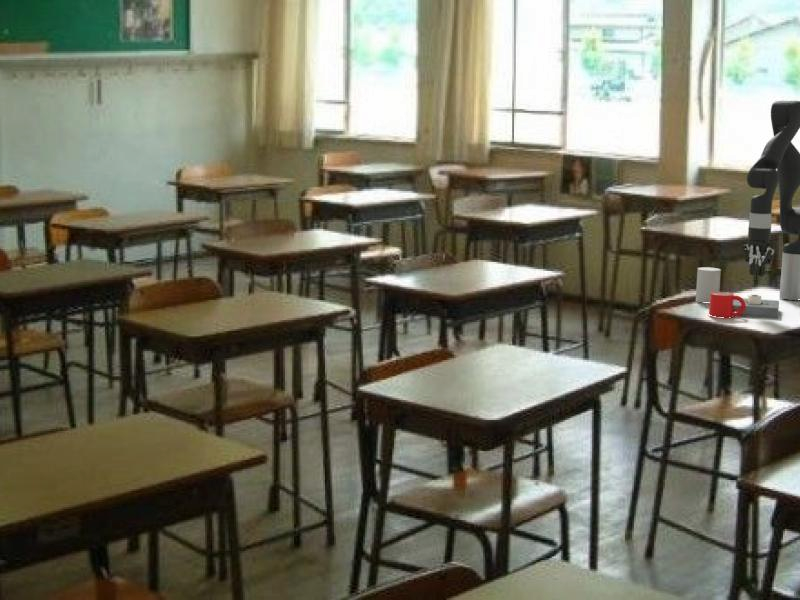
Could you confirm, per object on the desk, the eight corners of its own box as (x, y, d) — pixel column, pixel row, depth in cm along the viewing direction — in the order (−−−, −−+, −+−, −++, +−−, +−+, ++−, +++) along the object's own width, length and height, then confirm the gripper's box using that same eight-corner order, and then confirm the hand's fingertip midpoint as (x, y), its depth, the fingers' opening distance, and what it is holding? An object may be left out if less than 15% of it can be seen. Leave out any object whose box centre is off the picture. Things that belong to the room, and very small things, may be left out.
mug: (744, 320, 442) (746, 297, 441) (708, 317, 445) (709, 294, 444) (745, 316, 449) (746, 293, 448) (709, 313, 453) (710, 291, 451)
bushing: (752, 311, 459) (754, 293, 458) (762, 313, 455) (764, 295, 454) (744, 312, 456) (745, 294, 455) (754, 314, 453) (755, 296, 452)
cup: (720, 303, 472) (722, 270, 470) (698, 303, 472) (700, 270, 470) (715, 299, 480) (717, 267, 478) (693, 299, 480) (695, 267, 478)
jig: (731, 307, 465) (732, 297, 465) (778, 310, 461) (779, 300, 460) (729, 315, 450) (729, 305, 450) (777, 318, 446) (778, 308, 445)
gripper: (783, 227, 446) (779, 277, 449) (751, 223, 458) (748, 272, 461) (768, 229, 442) (764, 279, 445) (736, 224, 454) (733, 273, 457)
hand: (756, 275), depth 453 cm, fingers open, 3 cm apart
